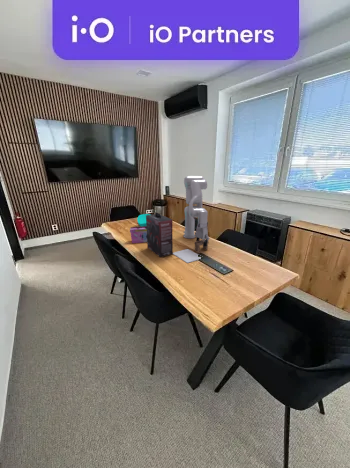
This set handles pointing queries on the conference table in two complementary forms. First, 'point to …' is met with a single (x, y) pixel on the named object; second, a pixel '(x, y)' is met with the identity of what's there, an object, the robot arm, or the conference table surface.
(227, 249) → the conference table surface
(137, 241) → the gum box
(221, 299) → the conference table surface
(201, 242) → the walnut stool
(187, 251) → the grey pad
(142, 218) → the table top decor
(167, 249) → the headset box
